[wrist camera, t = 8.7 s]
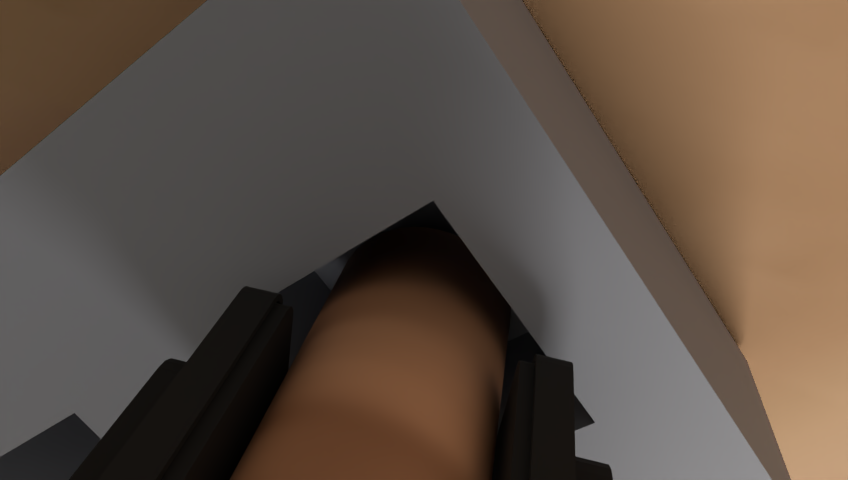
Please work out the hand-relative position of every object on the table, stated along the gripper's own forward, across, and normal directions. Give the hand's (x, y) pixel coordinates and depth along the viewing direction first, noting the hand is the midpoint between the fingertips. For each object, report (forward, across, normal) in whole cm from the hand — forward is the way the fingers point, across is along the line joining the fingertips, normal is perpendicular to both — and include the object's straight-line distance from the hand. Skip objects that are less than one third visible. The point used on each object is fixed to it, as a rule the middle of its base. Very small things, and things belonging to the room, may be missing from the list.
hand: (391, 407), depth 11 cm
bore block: (+6, +3, +3) cm, 7 cm away
